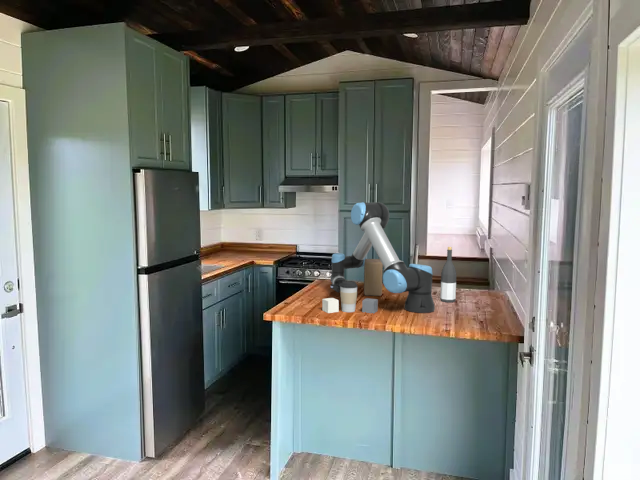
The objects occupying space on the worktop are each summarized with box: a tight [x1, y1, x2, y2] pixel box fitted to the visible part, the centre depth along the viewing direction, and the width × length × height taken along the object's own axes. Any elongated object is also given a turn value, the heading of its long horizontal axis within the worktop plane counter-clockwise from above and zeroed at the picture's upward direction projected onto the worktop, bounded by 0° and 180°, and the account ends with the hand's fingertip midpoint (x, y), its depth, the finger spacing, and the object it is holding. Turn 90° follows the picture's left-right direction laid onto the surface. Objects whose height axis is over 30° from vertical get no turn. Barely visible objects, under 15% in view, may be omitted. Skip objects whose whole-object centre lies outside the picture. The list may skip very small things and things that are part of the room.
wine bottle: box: [439, 246, 457, 304], centre depth 263 cm, size 8×8×30 cm
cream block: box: [321, 297, 340, 314], centre depth 241 cm, size 6×6×6 cm
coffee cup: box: [339, 280, 359, 313], centre depth 241 cm, size 9×9×15 cm
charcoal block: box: [361, 297, 379, 314], centre depth 240 cm, size 6×6×6 cm
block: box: [363, 258, 384, 297], centre depth 278 cm, size 10×10×20 cm
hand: (346, 293), depth 248 cm, fingers closed
